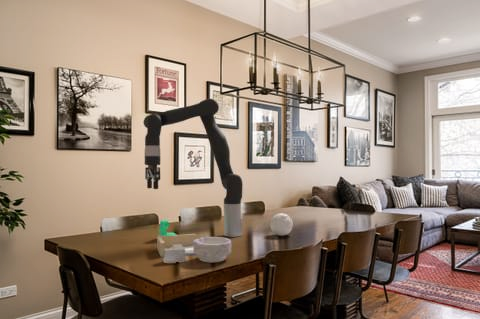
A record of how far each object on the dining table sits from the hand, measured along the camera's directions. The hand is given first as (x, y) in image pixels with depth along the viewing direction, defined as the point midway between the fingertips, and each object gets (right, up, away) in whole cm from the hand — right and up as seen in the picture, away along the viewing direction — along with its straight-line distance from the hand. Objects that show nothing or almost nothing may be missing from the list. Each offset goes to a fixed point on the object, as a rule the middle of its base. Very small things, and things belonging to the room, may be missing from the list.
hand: (152, 188), depth 180 cm
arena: (+16, -26, -16) cm, 35 cm away
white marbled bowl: (+31, -26, -31) cm, 51 cm away
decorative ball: (+65, -27, +20) cm, 73 cm away
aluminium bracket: (+16, -26, -31) cm, 43 cm away
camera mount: (+6, -27, +10) cm, 30 cm away
